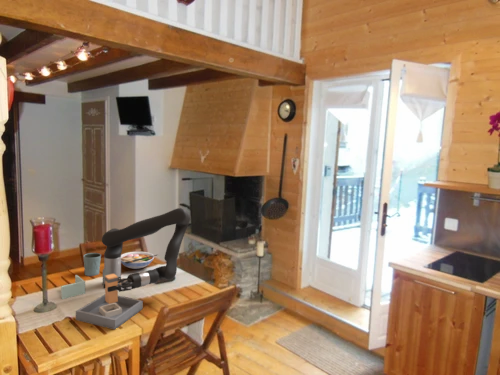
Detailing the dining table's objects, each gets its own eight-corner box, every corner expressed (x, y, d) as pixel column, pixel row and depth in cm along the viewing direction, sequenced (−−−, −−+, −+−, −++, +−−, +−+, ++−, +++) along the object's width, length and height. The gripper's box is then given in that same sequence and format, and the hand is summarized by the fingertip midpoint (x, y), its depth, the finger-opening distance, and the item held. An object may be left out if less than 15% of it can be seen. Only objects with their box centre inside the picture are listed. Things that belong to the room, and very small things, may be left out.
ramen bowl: (142, 258, 262) (142, 247, 261) (162, 267, 248) (162, 255, 247) (110, 267, 243) (110, 255, 242) (129, 276, 229) (129, 264, 228)
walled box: (75, 319, 174) (75, 311, 173) (106, 301, 195) (106, 293, 194) (115, 329, 168) (115, 320, 167) (142, 309, 189) (142, 300, 188)
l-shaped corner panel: (76, 287, 211) (76, 274, 210) (85, 294, 203) (85, 281, 202) (54, 292, 202) (54, 279, 201) (62, 300, 194) (62, 286, 193)
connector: (108, 304, 177) (108, 278, 175) (105, 300, 180) (104, 275, 179) (118, 301, 180) (117, 276, 178) (114, 298, 184) (113, 273, 182)
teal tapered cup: (79, 274, 228) (79, 256, 226) (91, 269, 237) (91, 251, 235) (93, 277, 225) (93, 258, 223) (104, 272, 234) (104, 253, 233)
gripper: (132, 268, 194) (99, 276, 182) (145, 277, 183) (111, 285, 172) (132, 282, 195) (100, 290, 183) (145, 291, 184) (111, 300, 173)
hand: (105, 288), depth 178 cm, fingers closed on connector, 4 cm apart
